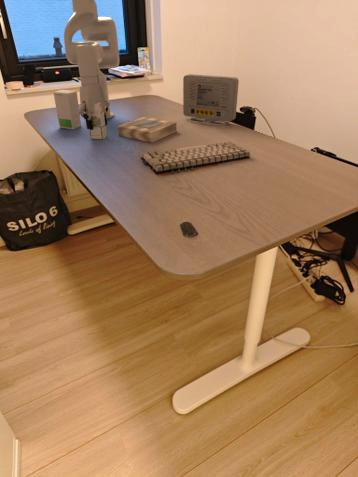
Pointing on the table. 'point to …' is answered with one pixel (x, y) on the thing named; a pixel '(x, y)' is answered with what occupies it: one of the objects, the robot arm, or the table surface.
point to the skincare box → (67, 109)
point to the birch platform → (147, 129)
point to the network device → (210, 98)
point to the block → (188, 229)
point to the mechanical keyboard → (192, 158)
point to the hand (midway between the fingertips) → (97, 126)
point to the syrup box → (98, 123)
